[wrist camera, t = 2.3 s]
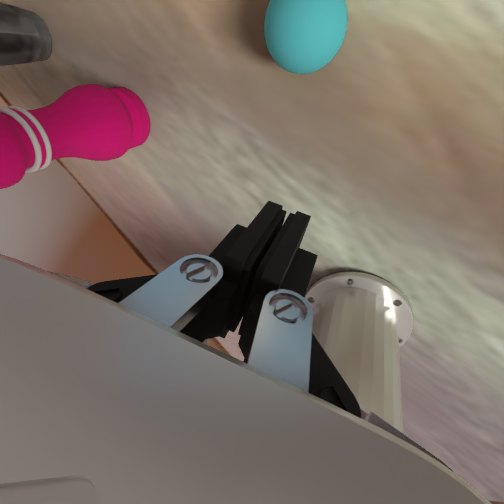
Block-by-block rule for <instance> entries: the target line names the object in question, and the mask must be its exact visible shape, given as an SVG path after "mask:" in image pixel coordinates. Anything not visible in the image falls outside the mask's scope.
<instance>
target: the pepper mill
mask: <svg viewBox="0 0 504 504" xmlns="http://www.w3.org/2000/svg"><path fill="white" fill-rule="evenodd" d="M149 132H150V120H149V115H148V112H147V109H146V107H145V106H144V104H143V102H142V101H141V100H140V98H139V97H138V96H137V95H136V94H135V93H133V92H132V91H130V90H129V89H126V88H122V87H117V88H108V89H106V88H104V87H102V86H99V85H95V84H87V85H81V86H77V87H74V88H72V89H70V90H68V91H67V92H65V93H64V94H63V95H62V96H61V97H60V98H59V99H58V100H56V101H55V102H54V103H52V104H50V105H48V106H46V107H43V108H39V109H35V110H25V109H23V108H21V107H18V106H8V107H0V189H3V188H7V187H10V186H12V185H14V184H16V183H18V182H19V181H20V180H21V179H22V177H23V176H24V174H25V172H27V173H32V172H35V171H36V170H42V169H45V168H46V167H47V166H48V165H49V164H50V162H51V161H52V160H54V159H58V158H64V157H77V158H83V159H89V160H95V161H107V160H111V159H115V158H119V157H120V156H122V155H124V154H125V153H126V152H127V150H128V149H130V148H133V147H136V146H139V145H141V144H143V143H144V142H145V141H146V139H147V138H148V135H149Z"/></svg>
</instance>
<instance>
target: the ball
mask: <svg viewBox="0 0 504 504" xmlns="http://www.w3.org/2000/svg"><path fill="white" fill-rule="evenodd" d="M347 21H348V15H347V6H346V2H345V0H270V2H269V5H268V7H267V11H266V15H265V22H264V34H265V41H266V45H267V48H268V50H269V52H270V54H271V56H272V58H273V59H274V60H275V62H276V63H277V64H278V65H279V66H280V67H282V68H283V69H285V70H286V71H289V72H292V73H295V74H308V73H312V72H315V71H317V70H319V69H321V68H322V67H324V66H325V65H326V64H328V63H329V62H330V61H331V60H332V59H333V57H334V56H335V55H336V53H337V52H338V50H339V48H340V47H341V45H342V42H343V40H344V37H345V34H346V29H347Z"/></svg>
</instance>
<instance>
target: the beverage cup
mask: <svg viewBox="0 0 504 504" xmlns="http://www.w3.org/2000/svg"><path fill="white" fill-rule="evenodd" d="M51 52H52V41H51V36H50V34H49V31H48V28H47V27H46V25H45V23H44V22H43V20H42V19H41V18H40V17H39V16H38V15H37V14H35V13H34V12H30V11H26V10H23V9H20V8H18V7H14V6H10V5H6V4H2V3H0V66H2V65H12V64H21V63H31V62H35V61H43V60H47V59H48V58H49V57H50V55H51Z"/></svg>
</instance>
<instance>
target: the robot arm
mask: <svg viewBox="0 0 504 504" xmlns="http://www.w3.org/2000/svg"><path fill="white" fill-rule="evenodd" d="M285 215H286V211H284V210H282V205H279V204H276V203H274V202H271V201H268V202H267V204H266V205H265V206H264V207H263V209H262V210H261V211H260V212H259V214H258V215H257V216H256V217H255V219H254V220H253V221H252V222H251V224H250V225H249V226H248V227H247V228H246V227H244V226H241V225H238V224H237V225H236V226H235V227H234V228H233V229H232V230H231V231H230V232H229V233H228V235H227V236H226V237H225V238H224V239H223V240H222V241H221V243H220V244H219V245H218V246H217V247H216V248H215V249H214V251H213V252H212V253H211V254H210V255H209V256H206V255H200V254H192V255H188V256H185V257H183V258H181V259H179V260H178V261H177V262H175V263H174V264H172V265H171V266H170V267H168V268H167V269H165V270H164V271H163V272H161V273H160V274H157V275H150V276H142V277H135V278H127V279H119V280H112V281H105V282H100V283H96V284H94V285H90V281H87V280H82V279H78V278H74V277H70V276H66V275H61V274H57V273H53V272H48V271H45V270H43V269H40V268H38V267H35V266H33V265H30V264H28V263H25V262H22V261H20V260H17V259H14V258H11V257H8V256H5V255H1V254H0V504H491V503H490V502H489V501H488V500H487V499H486V498H484V497H483V496H482V495H481V494H480V493H479V492H478V491H476V490H475V489H474V488H473V487H472V486H471V485H470V484H468V483H467V482H466V481H465V480H463V479H462V478H461V477H459V476H458V475H457V474H455V473H454V472H453V470H452V469H450V468H449V467H448V466H447V465H446V464H445V463H444V462H443V461H441V460H440V459H438V458H437V457H435V456H434V455H433V454H431V453H430V452H428V451H427V450H426V449H424V448H423V447H421V446H420V445H418V444H417V443H416V442H414V441H413V440H411V439H410V438H408V437H407V436H406V435H404V434H403V417H402V397H401V377H400V357H399V347H401V346H402V345H403V344H404V343H405V342H406V341H407V339H408V338H409V336H410V335H411V332H412V328H413V316H412V309H411V307H410V305H409V302H408V300H407V299H406V298H405V296H404V295H403V294H402V293H401V292H400V291H399V290H398V289H397V288H396V287H395V286H394V285H392V284H390V283H389V282H387V281H386V280H384V279H381V278H379V277H377V276H374V275H370V274H366V273H361V272H340V273H335V274H331V275H328V276H326V277H323V278H321V279H320V280H318V281H317V282H315V283H314V284H313V285H312V286H311V287H310V289H309V290H308V292H307V294H306V296H305V298H304V295H305V292H306V289H307V286H308V283H309V280H310V277H311V274H312V271H313V268H314V265H315V262H316V259H317V255H316V254H313V253H311V252H308V251H305V250H303V249H300V248H299V247H300V244H301V241H302V239H303V236H304V233H305V231H306V228H307V225H308V223H309V220H310V217H311V216H309V215H306V214H304V213H301V212H298V211H297V212H296V214H292V213H290V214H289V216H288V218H287V219H286V221H285V223H284V224H283V221H284V218H285ZM282 225H283V226H282ZM242 317H243V319H242ZM241 319H242V322H241V326H240V329H239V333H238V334H239V335H241V337H240V340H239V343H238V344H239V347H240V349H241V351H242V353H243V355H244V361H243V362H242V361H240V360H238V359H236V358H234V357H232V356H230V355H228V354H225V353H223V352H221V351H219V350H217V349H215V348H213V347H211V346H208V343H209V341H210V338H213V337H218V336H220V337H222V338H225V336H226V335H227V333H228V331H229V330H230V331H232V332H234V331H235V330H236V328H237V326H238V324H239V322H240V321H241Z"/></svg>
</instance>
